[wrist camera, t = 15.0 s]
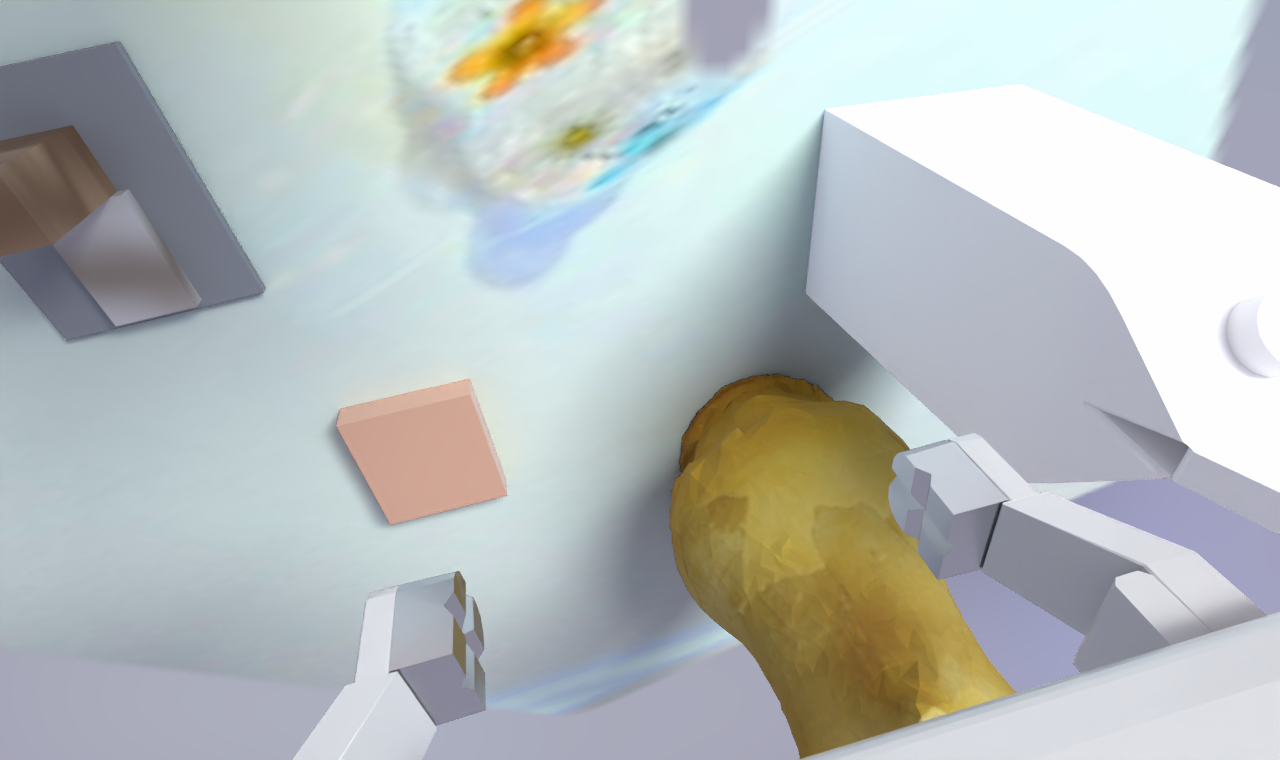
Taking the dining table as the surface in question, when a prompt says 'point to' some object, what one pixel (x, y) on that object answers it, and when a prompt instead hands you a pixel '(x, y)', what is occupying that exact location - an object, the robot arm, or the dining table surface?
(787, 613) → the pitcher
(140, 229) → the brown block
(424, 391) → the tile
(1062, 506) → the robot arm
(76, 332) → the pad
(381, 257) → the dining table surface
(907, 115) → the milk
